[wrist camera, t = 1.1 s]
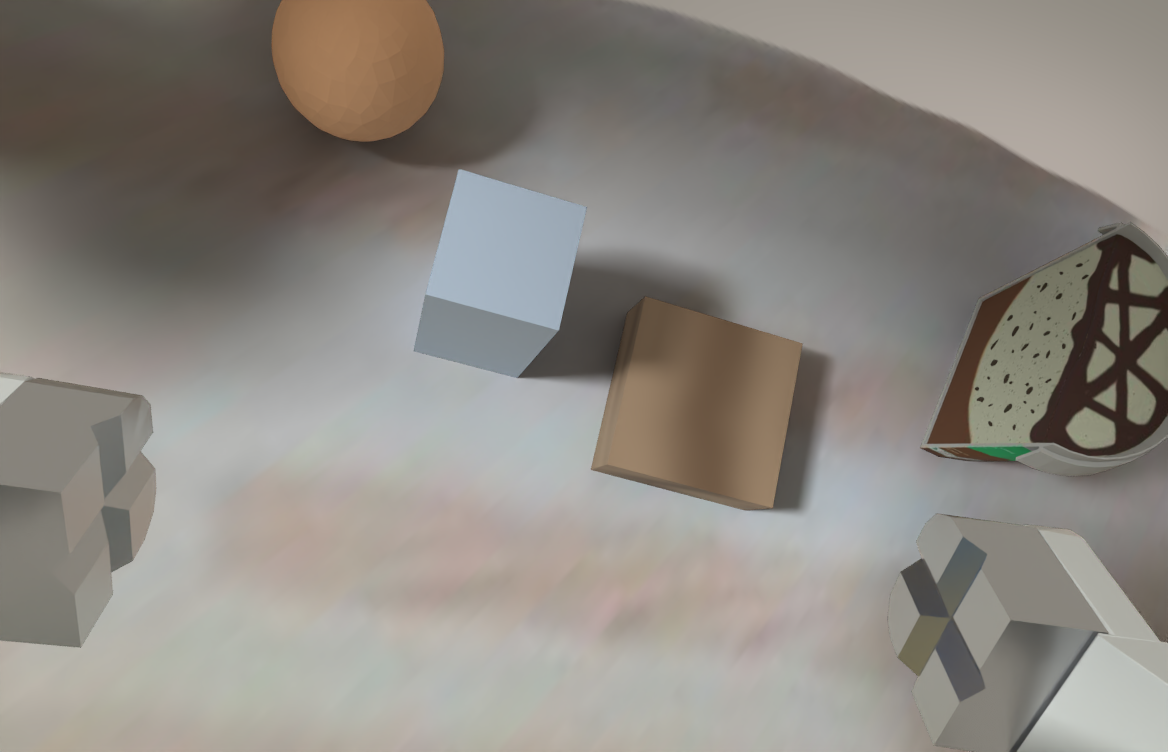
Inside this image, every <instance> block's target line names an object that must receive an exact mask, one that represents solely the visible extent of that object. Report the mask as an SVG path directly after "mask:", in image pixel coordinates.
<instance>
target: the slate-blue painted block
mask: <svg viewBox="0 0 1168 752" xmlns="http://www.w3.org/2000/svg"><path fill="white" fill-rule="evenodd" d="M586 209H587V207H585V206H582V205H579V204H575V203H572V202H569V201H565V200H562V199H558V198H555V197H552V196H548V195H545V194H542V193H538V192H535V191H532V190H528V189H525V188H522V187H518V186H515V185H511V184H508V183H505V182H501V181H498V180H495V179H491V178H488V177H485V176H481V175H478V174H475V173H471V172H468V171H464V170H461V169H459V170H458V174H457V178H456V181H455V185H454V189H453V193H452V196H451V200H450V204H449V208H448V212H447V215H446V219H445V223H444V227H443V230H442V234H441V238H440V242H439V245H438V249H437V253H436V257H435V260H434V264H433V268H432V272H431V275H430V279H429V283H428V287H427V290H426V294H425V299H424V304H423V308H422V313H421V318H420V323H419V327H418V332H417V337H416V342H415V346H414V351H415V352H419V353H423V354H427V355H431V356H435V357H439V358H442V359H446V360H450V361H454V362H458V363H462V364H466V365H469V366H473V367H477V368H481V369H485V370H489V371H493V372H497V373H500V374H504V375H508V376H512V377H516V378H518V376H519V375H520V374H521V373H522V372H523V371H524V370H525V368H526V367H527V366H528V365H529V364H530V363H531V362H532V360H533V359H534V358H535V357H536V356H537V355H538V354H539V352H540V351H541V350H542V349H543V348H544V347H545V346H546V345H547V343H548V342H549V341H550V340H551V339H552V338H553V337H554V335H555V334H556V333H557V332H558V331H559V328H560V323H561V319H562V314H563V310H564V306H565V301H566V297H567V293H568V288H569V284H570V279H571V275H572V271H573V266H574V262H575V258H576V253H577V249H578V244H579V240H580V236H581V231H582V227H583V222H584V218H585V214H586Z"/></svg>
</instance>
